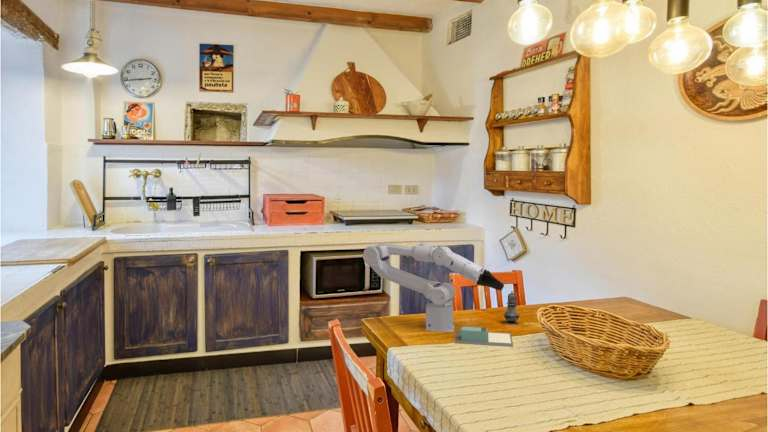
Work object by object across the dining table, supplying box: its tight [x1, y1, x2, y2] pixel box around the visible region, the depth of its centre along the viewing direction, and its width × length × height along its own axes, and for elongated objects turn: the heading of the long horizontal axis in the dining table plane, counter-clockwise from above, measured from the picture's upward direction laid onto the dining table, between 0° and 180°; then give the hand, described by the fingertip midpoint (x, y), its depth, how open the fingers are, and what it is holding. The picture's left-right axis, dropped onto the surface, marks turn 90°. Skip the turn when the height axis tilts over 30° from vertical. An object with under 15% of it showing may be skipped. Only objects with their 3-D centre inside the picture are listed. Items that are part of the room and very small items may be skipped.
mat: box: [454, 329, 514, 348], centre depth 161 cm, size 18×14×1 cm
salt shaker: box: [502, 290, 521, 326], centre depth 179 cm, size 6×6×12 cm
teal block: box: [461, 326, 488, 342], centre depth 159 cm, size 8×4×4 cm, turn 79°
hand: (501, 287), depth 163 cm, fingers open, 7 cm apart
